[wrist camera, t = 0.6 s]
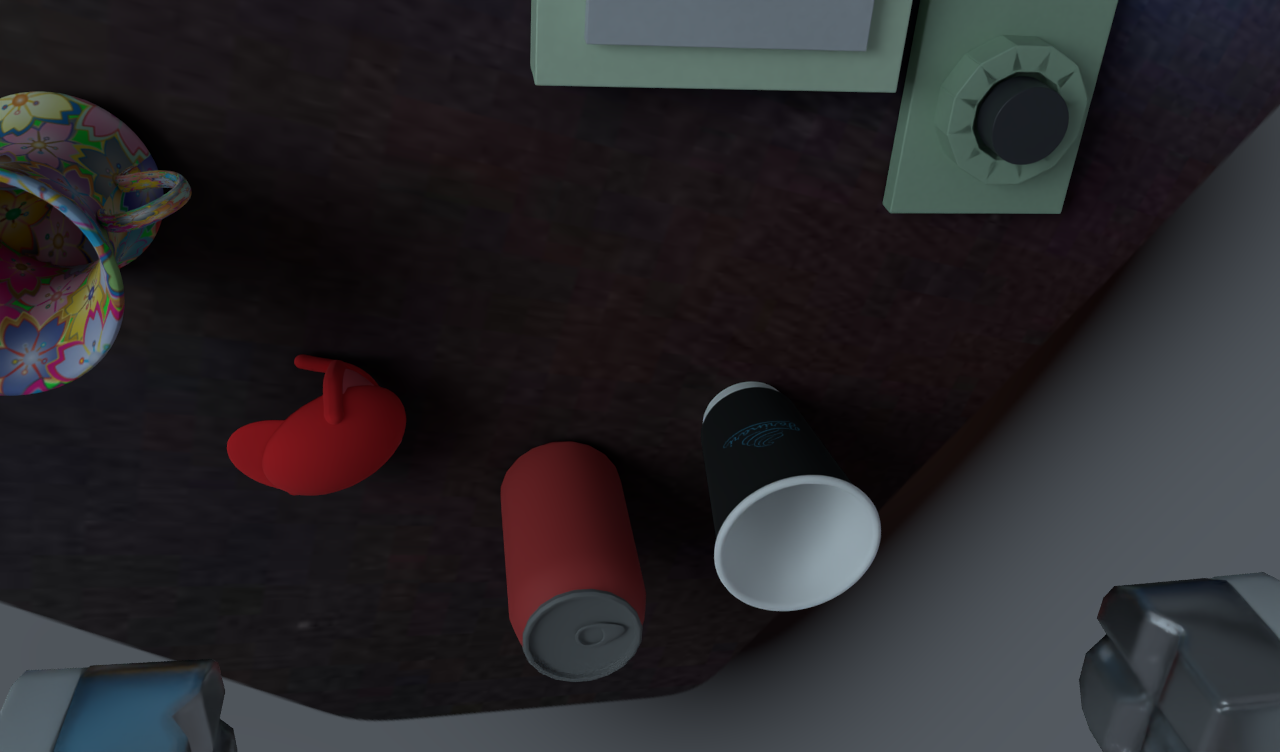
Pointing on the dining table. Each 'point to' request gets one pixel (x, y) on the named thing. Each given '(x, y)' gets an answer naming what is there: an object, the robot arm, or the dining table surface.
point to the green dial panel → (959, 82)
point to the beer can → (571, 562)
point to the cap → (324, 434)
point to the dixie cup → (781, 504)
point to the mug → (69, 233)
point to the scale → (720, 44)
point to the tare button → (1022, 120)
